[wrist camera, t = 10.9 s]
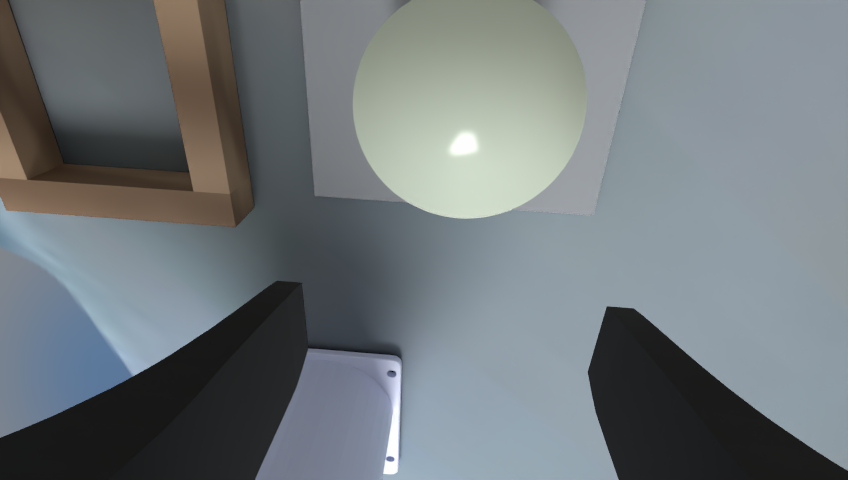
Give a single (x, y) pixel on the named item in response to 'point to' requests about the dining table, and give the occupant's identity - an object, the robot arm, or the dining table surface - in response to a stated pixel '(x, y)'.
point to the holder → (126, 187)
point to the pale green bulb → (469, 104)
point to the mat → (356, 26)
